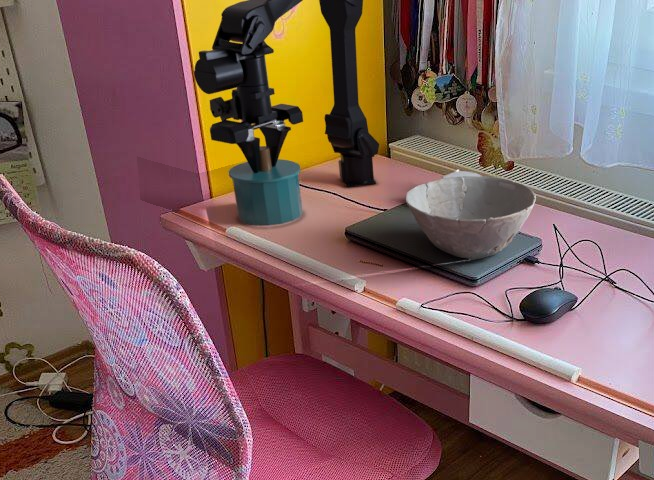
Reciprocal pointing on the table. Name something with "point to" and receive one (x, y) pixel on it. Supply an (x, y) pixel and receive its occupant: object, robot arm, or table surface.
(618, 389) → the table surface
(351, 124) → the robot arm
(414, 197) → the ceramic bowl
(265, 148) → the lid
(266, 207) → the canister
